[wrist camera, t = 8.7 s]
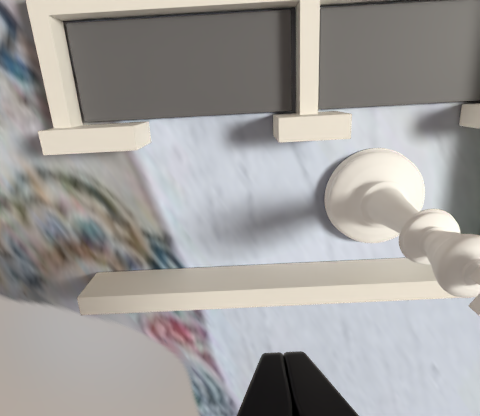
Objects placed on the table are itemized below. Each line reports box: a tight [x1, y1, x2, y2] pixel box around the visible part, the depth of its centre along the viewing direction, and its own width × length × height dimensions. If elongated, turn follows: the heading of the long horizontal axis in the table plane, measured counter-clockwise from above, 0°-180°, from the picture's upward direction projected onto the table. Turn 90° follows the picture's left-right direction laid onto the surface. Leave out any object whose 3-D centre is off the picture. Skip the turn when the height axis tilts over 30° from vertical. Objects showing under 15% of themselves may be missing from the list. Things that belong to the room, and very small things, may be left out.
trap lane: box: [26, 0, 480, 315], centre depth 16 cm, size 14×22×2 cm, turn 93°
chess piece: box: [324, 148, 480, 316], centre depth 13 cm, size 5×5×10 cm
